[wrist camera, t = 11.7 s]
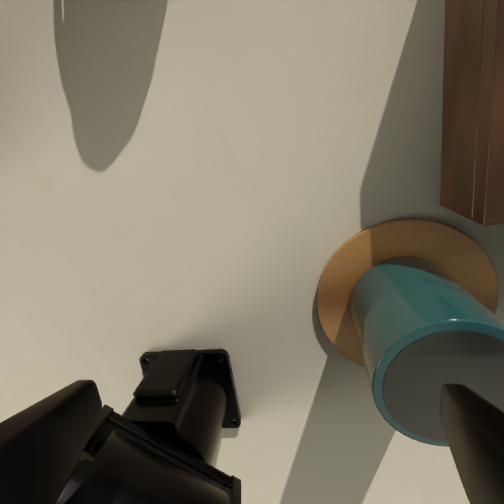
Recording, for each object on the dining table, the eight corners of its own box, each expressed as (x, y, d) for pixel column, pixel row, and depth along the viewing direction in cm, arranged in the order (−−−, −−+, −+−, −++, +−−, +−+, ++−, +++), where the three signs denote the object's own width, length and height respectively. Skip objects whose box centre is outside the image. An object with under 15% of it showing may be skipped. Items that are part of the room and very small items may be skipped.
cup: (455, 345, 19) (533, 449, 13) (351, 349, 21) (375, 447, 14) (459, 250, 18) (553, 315, 11) (346, 260, 19) (369, 325, 12)
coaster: (488, 367, 20) (491, 371, 20) (323, 371, 22) (323, 375, 21) (501, 208, 17) (505, 209, 17) (309, 228, 19) (309, 230, 19)
